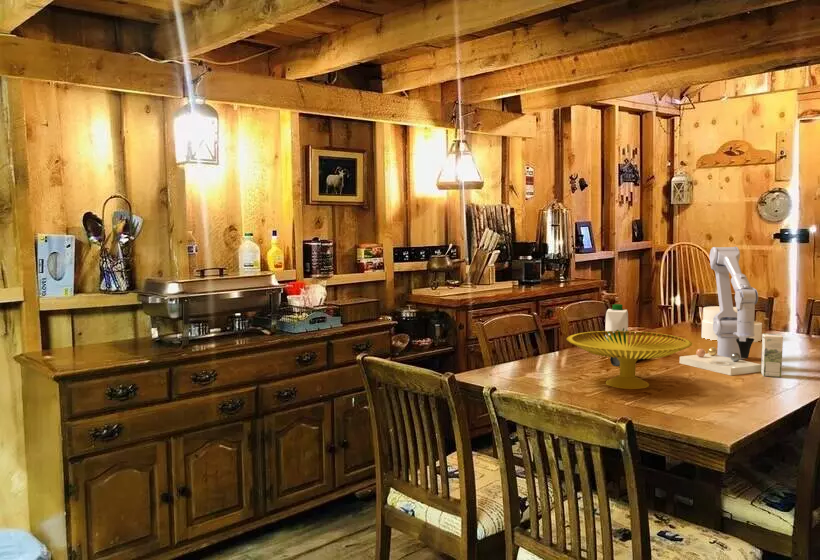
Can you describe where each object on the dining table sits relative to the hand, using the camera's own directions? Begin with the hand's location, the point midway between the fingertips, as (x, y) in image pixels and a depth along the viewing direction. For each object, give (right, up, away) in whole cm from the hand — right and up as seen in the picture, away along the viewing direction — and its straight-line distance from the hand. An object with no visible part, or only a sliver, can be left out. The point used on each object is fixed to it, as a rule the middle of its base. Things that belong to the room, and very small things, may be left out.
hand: (744, 357), depth 258 cm
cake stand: (-51, -6, -24) cm, 56 cm away
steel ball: (-4, 0, -2) cm, 5 cm away
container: (+23, +2, +61) cm, 66 cm away
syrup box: (+3, -5, -14) cm, 15 cm away
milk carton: (-39, -2, +29) cm, 49 cm away
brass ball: (-8, +1, +10) cm, 12 cm away
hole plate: (-9, -4, +1) cm, 10 cm away
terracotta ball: (-13, +1, +7) cm, 15 cm away
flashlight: (-38, -4, +12) cm, 40 cm away
